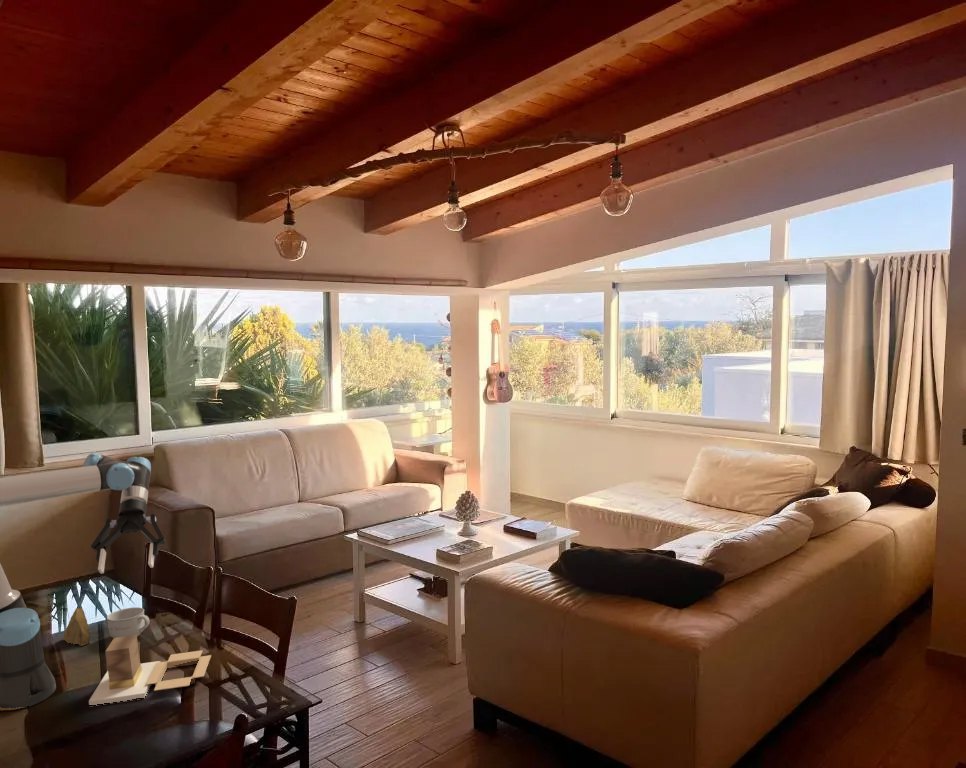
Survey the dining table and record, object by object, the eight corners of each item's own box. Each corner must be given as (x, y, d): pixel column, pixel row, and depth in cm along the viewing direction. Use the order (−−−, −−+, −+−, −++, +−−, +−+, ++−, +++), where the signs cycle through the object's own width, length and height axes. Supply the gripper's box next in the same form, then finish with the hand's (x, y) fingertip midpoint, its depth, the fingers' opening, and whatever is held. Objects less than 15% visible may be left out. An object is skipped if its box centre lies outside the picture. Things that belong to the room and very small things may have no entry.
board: (89, 706, 198) (88, 701, 198) (109, 672, 216) (109, 667, 216) (145, 698, 201) (144, 693, 201) (160, 665, 218) (160, 660, 218)
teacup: (102, 641, 237) (99, 617, 236) (132, 626, 246) (129, 603, 245) (131, 648, 230) (128, 624, 229) (160, 633, 240) (158, 609, 239)
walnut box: (109, 689, 204) (104, 651, 202) (118, 674, 212) (113, 637, 210) (134, 685, 205) (129, 648, 203) (142, 670, 213) (137, 634, 212)
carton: (142, 698, 201) (141, 691, 200) (160, 662, 220) (159, 656, 220) (201, 690, 203) (200, 683, 203) (214, 655, 223) (213, 648, 223)
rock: (98, 636, 235) (99, 620, 244) (77, 621, 231) (78, 605, 240) (70, 661, 233) (72, 644, 242) (48, 646, 229) (50, 630, 238)
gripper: (179, 505, 234) (174, 568, 221) (94, 514, 229) (83, 579, 217) (173, 493, 228) (168, 557, 215) (86, 502, 223) (75, 568, 211)
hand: (125, 568), depth 216 cm, fingers open, 13 cm apart
